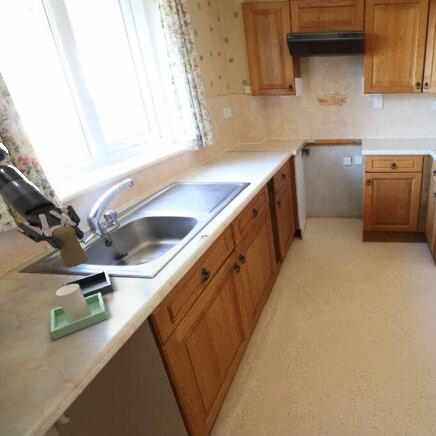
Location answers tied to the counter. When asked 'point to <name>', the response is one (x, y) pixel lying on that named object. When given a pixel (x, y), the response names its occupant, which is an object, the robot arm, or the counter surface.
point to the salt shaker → (73, 302)
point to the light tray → (64, 327)
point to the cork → (69, 247)
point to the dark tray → (94, 284)
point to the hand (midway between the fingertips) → (71, 242)
